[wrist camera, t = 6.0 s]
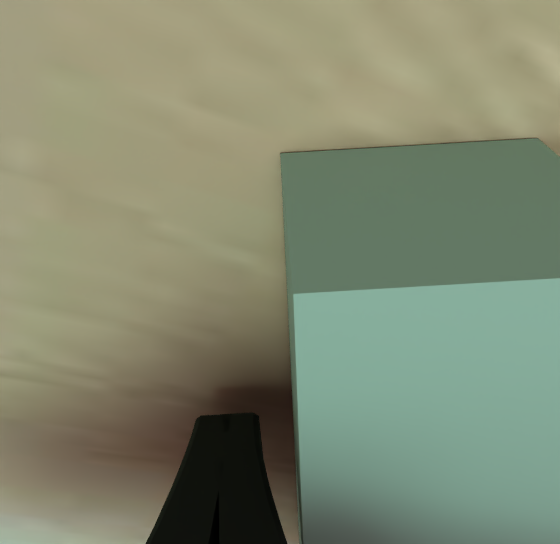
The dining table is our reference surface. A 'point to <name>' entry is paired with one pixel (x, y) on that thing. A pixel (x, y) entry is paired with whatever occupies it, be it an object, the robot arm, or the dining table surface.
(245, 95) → the dining table surface
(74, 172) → the dining table surface
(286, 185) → the t block
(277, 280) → the dining table surface
